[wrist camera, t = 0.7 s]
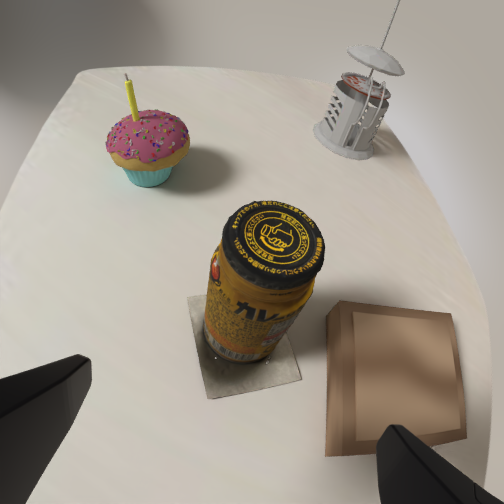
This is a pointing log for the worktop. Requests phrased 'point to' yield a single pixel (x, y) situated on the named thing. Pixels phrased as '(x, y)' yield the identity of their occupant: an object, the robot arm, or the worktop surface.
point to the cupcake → (147, 143)
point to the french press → (358, 104)
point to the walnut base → (391, 377)
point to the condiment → (255, 298)
